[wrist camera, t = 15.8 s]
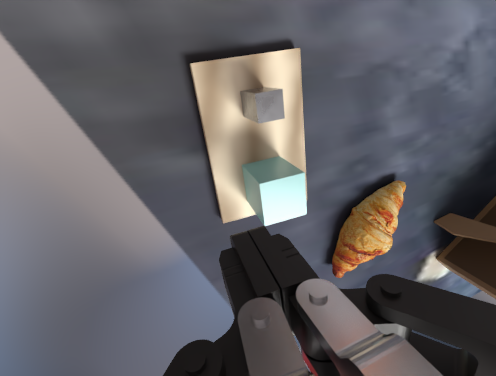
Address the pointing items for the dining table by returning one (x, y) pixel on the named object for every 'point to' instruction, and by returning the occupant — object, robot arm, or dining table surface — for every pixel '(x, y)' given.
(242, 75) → the birch board
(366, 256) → the croissant
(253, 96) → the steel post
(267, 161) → the light blue cube
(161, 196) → the dining table surface
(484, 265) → the photo frame
